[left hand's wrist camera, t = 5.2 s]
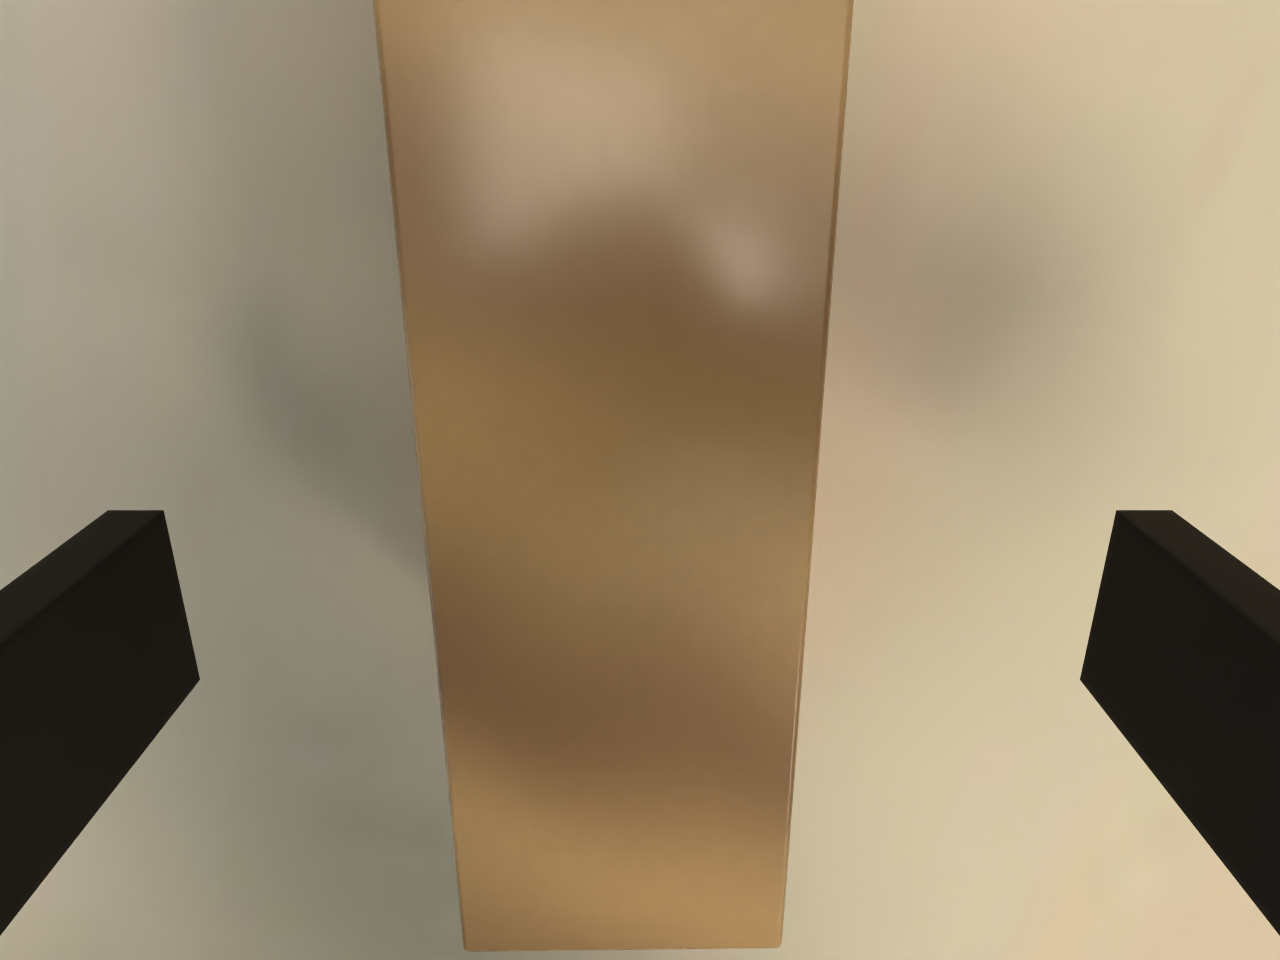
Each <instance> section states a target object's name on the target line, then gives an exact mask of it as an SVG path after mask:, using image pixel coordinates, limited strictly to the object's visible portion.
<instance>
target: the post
mask: <svg viewBox="0 0 1280 960" xmlns="http://www.w3.org/2000/svg"><path fill="white" fill-rule="evenodd" d="M853 1H854V0H373V3H374V14H375V24H376V35H377V45H378V56H379V66H380V77H381V87H382V98H383V108H384V119H385V129H386V140H387V150H388V161H389V171H390V181H391V192H392V202H393V213H394V223H395V234H396V244H397V255H398V265H399V276H400V286H401V297H402V307H403V318H404V328H405V339H406V349H407V360H408V370H409V381H410V391H411V402H412V412H413V423H414V433H415V443H416V454H417V464H418V475H419V485H420V496H421V506H422V517H423V527H424V538H425V548H426V559H427V569H428V580H429V590H430V601H431V611H432V622H433V632H434V643H435V653H436V664H437V674H438V685H439V695H440V706H441V716H442V726H443V737H444V747H445V758H446V768H447V779H448V789H449V800H450V810H451V821H452V831H453V842H454V852H455V863H456V873H457V884H458V894H459V905H460V915H461V926H462V936H463V946H464V949H465V950H466V951H552V950H637V949H721V948H777V947H780V945H781V942H782V932H783V919H784V905H785V892H786V879H787V866H788V853H789V840H790V827H791V814H792V801H793V787H794V774H795V761H796V748H797V735H798V722H799V709H800V696H801V683H802V669H803V656H804V643H805V630H806V617H807V604H808V591H809V578H810V565H811V551H812V538H813V525H814V512H815V499H816V486H817V473H818V460H819V447H820V434H821V420H822V407H823V394H824V381H825V368H826V355H827V342H828V329H829V316H830V302H831V289H832V276H833V263H834V250H835V237H836V224H837V211H838V198H839V184H840V171H841V158H842V145H843V132H844V119H845V106H846V93H847V80H848V66H849V53H850V40H851V27H852V14H853Z"/></svg>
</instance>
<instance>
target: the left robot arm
mask: <svg viewBox="0 0 1280 960" xmlns="http://www.w3.org/2000/svg"><path fill="white" fill-rule="evenodd" d="M199 680H200V678H199V673H198V668H197V664H196V659H195V654H194V650H193V645H192V640H191V636H190V631H189V626H188V622H187V617H186V612H185V608H184V603H183V598H182V594H181V589H180V584H179V580H178V575H177V570H176V566H175V561H174V556H173V552H172V547H171V542H170V538H169V533H168V528H167V524H166V519H165V514H164V510H108V511H107V512H105V513H104V514H103V515H101V516H100V517H98V518H97V519H96V520H94V521H93V522H92V523H90V524H89V525H88V526H86V527H85V528H84V529H82V530H81V531H80V532H78V533H77V534H76V535H74V536H73V537H72V538H70V539H69V540H67V541H66V542H65V543H63V544H62V545H61V546H59V547H58V548H57V549H55V550H54V551H53V552H51V553H50V554H49V555H47V556H46V557H45V558H43V559H42V560H41V561H39V562H38V563H36V564H35V565H34V566H32V567H31V568H30V569H28V570H27V571H26V572H24V573H23V574H22V575H20V576H19V577H18V578H16V579H15V580H14V581H12V582H11V583H10V584H8V585H7V586H5V587H4V588H3V589H1V590H0V935H1V934H2V933H3V931H4V930H5V929H6V927H7V926H8V925H9V924H10V922H11V921H12V920H13V919H14V917H15V916H16V915H17V913H18V912H19V911H20V910H21V908H22V907H23V906H24V904H25V903H26V902H27V901H28V899H29V898H30V897H31V895H32V894H33V893H34V892H35V890H36V889H37V888H38V886H39V885H40V884H41V883H42V881H43V880H44V879H45V878H46V876H47V875H48V874H49V872H50V871H51V870H52V869H53V867H54V866H55V865H56V863H57V862H58V861H59V860H60V858H61V857H62V856H63V854H64V853H65V852H66V851H67V849H68V848H69V847H70V845H71V844H72V843H73V842H74V840H75V839H76V838H77V837H78V835H79V834H80V833H81V831H82V830H83V829H84V828H85V826H86V825H87V824H88V822H89V821H90V820H91V819H92V817H93V816H94V815H95V813H96V812H97V811H98V810H99V808H100V807H101V806H102V804H103V803H104V802H105V801H106V799H107V798H108V797H109V796H110V794H111V793H112V792H113V790H114V789H115V788H116V787H117V785H118V784H119V783H120V781H121V780H122V779H123V778H124V776H125V775H126V774H127V772H128V771H129V770H130V769H131V767H132V766H133V765H134V763H135V762H136V761H137V760H138V758H139V757H140V756H141V755H142V753H143V752H144V751H145V749H146V748H147V747H148V746H149V744H150V743H151V742H152V740H153V739H154V738H155V737H156V735H157V734H158V733H159V731H160V730H161V729H162V728H163V726H164V725H165V724H166V722H167V721H168V720H169V719H170V717H171V716H172V715H173V713H174V712H175V711H176V710H177V708H178V707H179V706H180V705H181V703H182V702H183V701H184V699H185V698H186V697H187V696H188V694H189V693H190V692H191V690H192V689H193V688H194V687H195V685H196V684H197V683H198V681H199ZM1080 680H1081V681H1082V683H1083V684H1084V685H1085V687H1086V688H1087V689H1088V690H1089V692H1090V693H1091V694H1092V696H1093V697H1094V698H1095V699H1096V701H1097V702H1098V703H1099V705H1100V706H1101V707H1102V708H1103V710H1104V711H1105V712H1106V713H1107V715H1108V716H1109V717H1110V719H1111V720H1112V721H1113V722H1114V724H1115V725H1116V726H1117V728H1118V729H1119V730H1120V731H1121V733H1122V734H1123V735H1124V737H1125V738H1126V739H1127V740H1128V742H1129V743H1130V744H1131V746H1132V747H1133V748H1134V749H1135V751H1136V752H1137V753H1138V754H1139V756H1140V757H1141V758H1142V760H1143V761H1144V762H1145V763H1146V765H1147V766H1148V767H1149V769H1150V770H1151V771H1152V772H1153V774H1154V775H1155V776H1156V778H1157V779H1158V780H1159V781H1160V783H1161V784H1162V785H1163V787H1164V788H1165V789H1166V790H1167V792H1168V793H1169V794H1170V796H1171V797H1172V798H1173V799H1174V801H1175V802H1176V803H1177V804H1178V806H1179V807H1180V808H1181V810H1182V811H1183V812H1184V813H1185V815H1186V816H1187V817H1188V819H1189V820H1190V821H1191V822H1192V824H1193V825H1194V826H1195V828H1196V829H1197V830H1198V831H1199V833H1200V834H1201V835H1202V837H1203V838H1204V839H1205V840H1206V842H1207V843H1208V844H1209V845H1210V847H1211V848H1212V849H1213V851H1214V852H1215V853H1216V854H1217V856H1218V857H1219V858H1220V860H1221V861H1222V862H1223V863H1224V865H1225V866H1226V867H1227V869H1228V870H1229V871H1230V872H1231V874H1232V875H1233V876H1234V878H1235V879H1236V880H1237V881H1238V883H1239V884H1240V885H1241V886H1242V888H1243V889H1244V890H1245V892H1246V893H1247V894H1248V895H1249V897H1250V898H1251V899H1252V901H1253V902H1254V903H1255V904H1256V906H1257V907H1258V908H1259V910H1260V911H1261V912H1262V913H1263V915H1264V916H1265V917H1266V919H1267V920H1268V921H1269V922H1270V924H1271V925H1272V926H1273V927H1274V929H1275V930H1276V931H1277V933H1278V934H1279V935H1280V590H1279V589H1277V588H1276V587H1275V586H1273V585H1272V584H1270V583H1269V582H1268V581H1266V580H1265V579H1264V578H1262V577H1261V576H1260V575H1258V574H1257V573H1256V572H1254V571H1253V570H1252V569H1250V568H1249V567H1248V566H1246V565H1245V564H1244V563H1242V562H1241V561H1239V560H1238V559H1237V558H1235V557H1234V556H1233V555H1231V554H1230V553H1229V552H1227V551H1226V550H1225V549H1223V548H1222V547H1221V546H1219V545H1218V544H1217V543H1215V542H1214V541H1213V540H1211V539H1210V538H1208V537H1207V536H1206V535H1204V534H1203V533H1202V532H1200V531H1199V530H1198V529H1196V528H1195V527H1194V526H1192V525H1191V524H1190V523H1188V522H1187V521H1186V520H1184V519H1183V518H1182V517H1180V516H1179V515H1177V514H1176V513H1175V512H1173V511H1172V510H1116V514H1115V519H1114V524H1113V528H1112V533H1111V538H1110V542H1109V547H1108V552H1107V556H1106V561H1105V566H1104V570H1103V575H1102V580H1101V584H1100V589H1099V594H1098V598H1097V603H1096V608H1095V612H1094V617H1093V622H1092V626H1091V631H1090V636H1089V640H1088V645H1087V650H1086V654H1085V659H1084V664H1083V668H1082V673H1081V678H1080Z"/></svg>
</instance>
